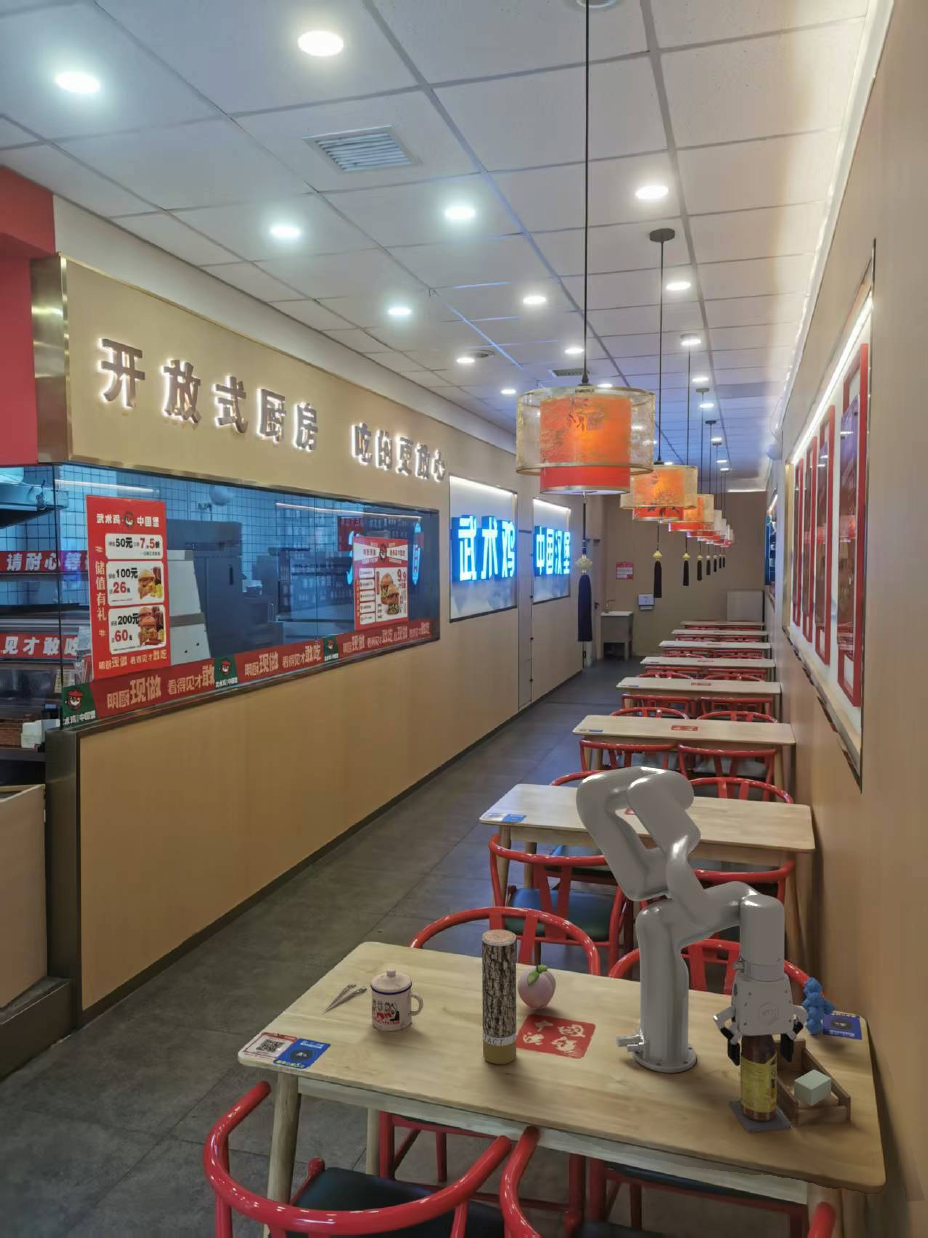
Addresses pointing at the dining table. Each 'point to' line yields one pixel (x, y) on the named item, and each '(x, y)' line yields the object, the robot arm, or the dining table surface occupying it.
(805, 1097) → the offcut top
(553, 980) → the decorative fruit
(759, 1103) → the sauce bottle
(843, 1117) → the wooden tray
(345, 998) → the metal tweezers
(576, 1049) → the dining table surface
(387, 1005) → the teacup with lid
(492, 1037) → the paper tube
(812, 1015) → the grapes
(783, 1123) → the mat
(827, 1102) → the plate
